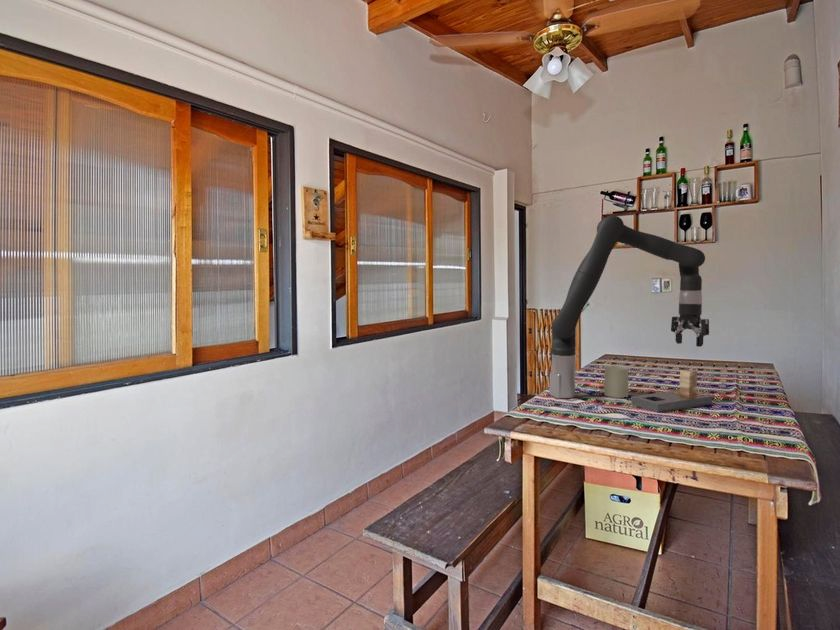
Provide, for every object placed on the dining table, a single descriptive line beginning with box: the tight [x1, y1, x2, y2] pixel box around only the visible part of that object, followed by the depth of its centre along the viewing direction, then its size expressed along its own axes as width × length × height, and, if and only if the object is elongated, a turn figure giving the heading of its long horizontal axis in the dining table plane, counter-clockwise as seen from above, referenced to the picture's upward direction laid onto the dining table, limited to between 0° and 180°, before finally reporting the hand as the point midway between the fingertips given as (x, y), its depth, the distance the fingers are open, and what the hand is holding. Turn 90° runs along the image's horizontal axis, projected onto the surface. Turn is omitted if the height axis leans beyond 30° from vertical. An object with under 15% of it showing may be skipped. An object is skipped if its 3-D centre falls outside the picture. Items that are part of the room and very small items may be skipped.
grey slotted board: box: [630, 389, 713, 414], centre depth 174 cm, size 27×12×3 cm, turn 110°
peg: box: [679, 369, 698, 396], centre depth 176 cm, size 4×4×12 cm
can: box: [603, 365, 630, 399], centre depth 188 cm, size 9×9×12 cm
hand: (688, 344), depth 175 cm, fingers open, 8 cm apart
